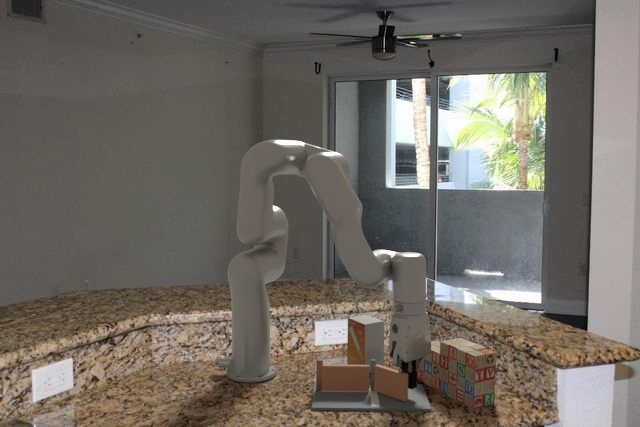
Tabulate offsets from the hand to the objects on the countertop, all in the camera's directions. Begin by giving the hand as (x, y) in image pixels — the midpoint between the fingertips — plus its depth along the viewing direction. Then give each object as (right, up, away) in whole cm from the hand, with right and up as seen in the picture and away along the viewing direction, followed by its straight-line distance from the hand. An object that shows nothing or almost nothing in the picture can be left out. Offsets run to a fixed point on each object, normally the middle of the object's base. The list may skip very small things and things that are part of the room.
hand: (409, 387), depth 149 cm
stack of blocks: (+11, -3, +5) cm, 13 cm away
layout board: (-9, -3, +1) cm, 9 cm away
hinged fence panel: (-5, -2, +1) cm, 5 cm away
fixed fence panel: (-15, -2, +4) cm, 16 cm away
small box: (-8, -1, +22) cm, 24 cm away
